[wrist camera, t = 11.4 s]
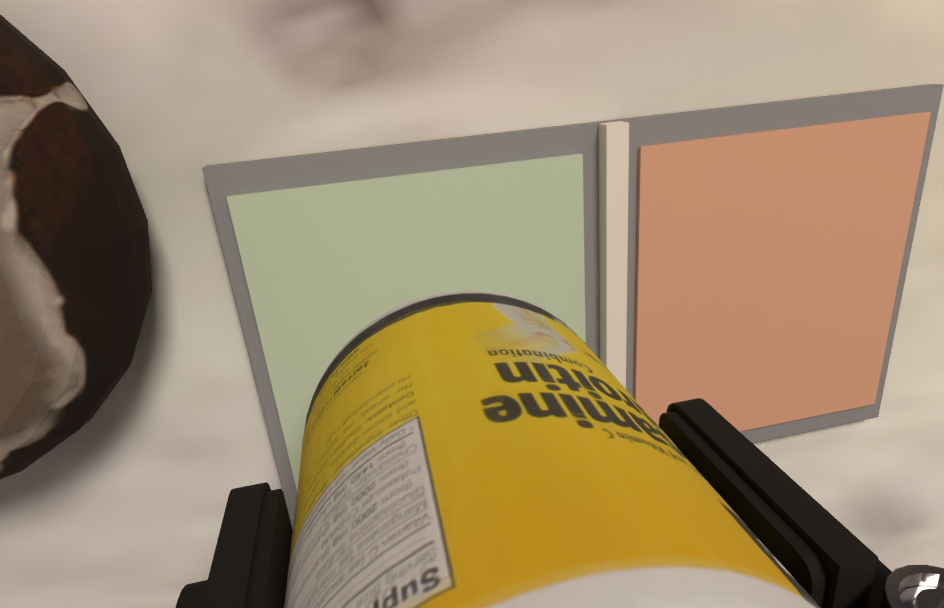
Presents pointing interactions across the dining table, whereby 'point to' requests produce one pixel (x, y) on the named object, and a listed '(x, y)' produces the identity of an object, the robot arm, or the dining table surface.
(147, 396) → the dining table surface
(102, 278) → the donut
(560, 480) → the pill bottle
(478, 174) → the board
